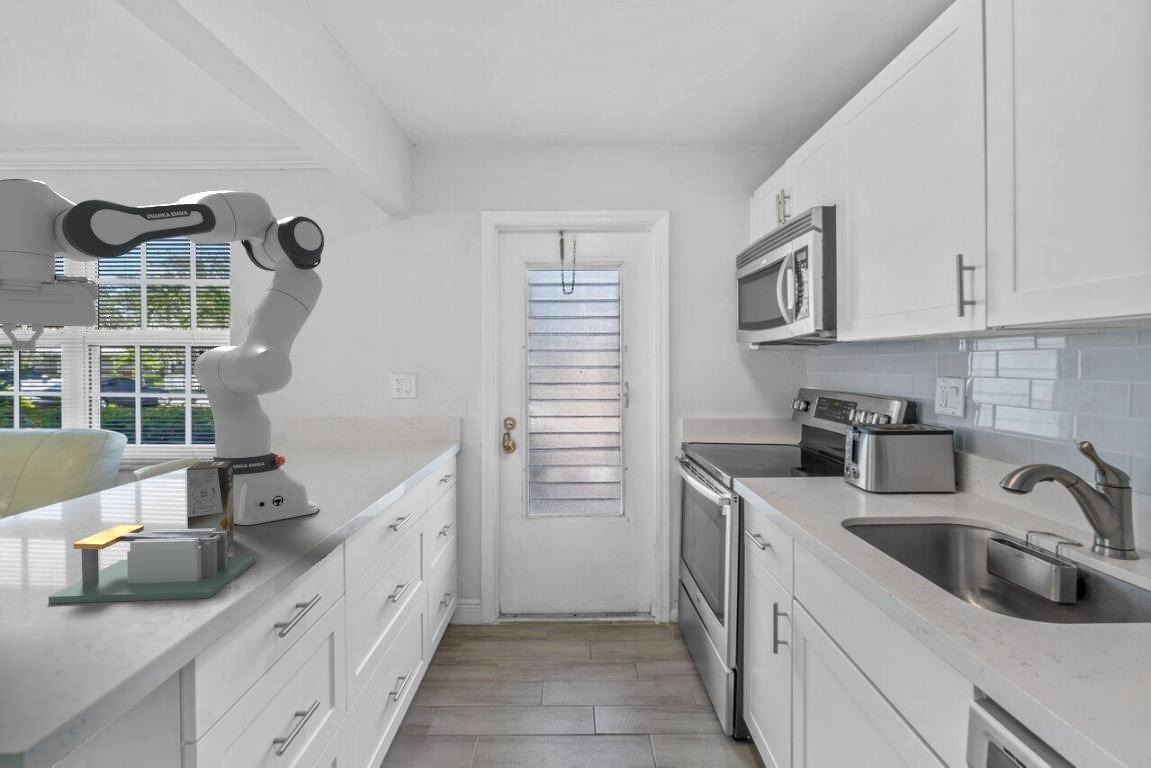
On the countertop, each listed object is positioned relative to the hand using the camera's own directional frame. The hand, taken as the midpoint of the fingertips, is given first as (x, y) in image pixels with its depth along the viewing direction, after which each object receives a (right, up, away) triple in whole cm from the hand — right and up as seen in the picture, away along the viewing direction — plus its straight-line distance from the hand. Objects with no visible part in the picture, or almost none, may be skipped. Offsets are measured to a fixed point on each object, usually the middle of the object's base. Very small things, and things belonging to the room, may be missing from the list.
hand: (24, 350), depth 103 cm
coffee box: (+29, -37, +8) cm, 48 cm away
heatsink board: (+31, -38, -9) cm, 50 cm away
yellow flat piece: (+30, -31, -9) cm, 44 cm away
